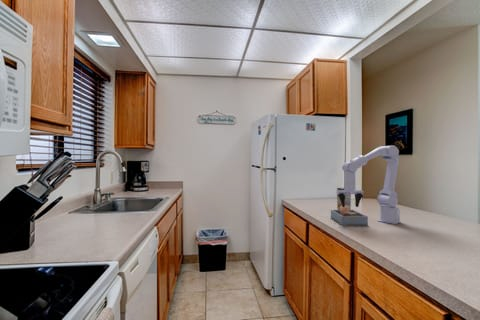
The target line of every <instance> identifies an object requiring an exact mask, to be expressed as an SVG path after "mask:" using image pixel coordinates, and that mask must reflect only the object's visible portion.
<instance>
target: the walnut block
mask: <svg viewBox="0 0 480 320" xmlns="http://www.w3.org/2000/svg"><path fill="white" fill-rule="evenodd" d="M344 216H357V213H354V212H350V211H349V212H344Z"/></svg>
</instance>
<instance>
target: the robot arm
mask: <svg viewBox="0 0 480 320" xmlns="http://www.w3.org/2000/svg"><path fill="white" fill-rule="evenodd" d="M399 154H400V150H399V149H398V146H396V145H384V146H383V145H380V146H378V147H376V148H374V149H373V150H372V151H370V152H368V153H367V154H365V155H362V154H361V155H360V154H359V155H357V156H356V157H355V158H352V159H349V160H350V161H346V162H344V163H343V165H342V166H341V169H342V170H343V174H344V175H343V176H344V178H343V180H344V184H343V185H344V188H345V190H338V191H337V190H336V195H337V194H338V196H339V198H340V200H341V204H342V207H345V195H344V194H351V195H354V199H355V201H354V202H355V203H354V205H355V207H356V208H359V207H360V206H359V204H360V202H361V199H362V198H363V195H364V190H362V189H361V190H359V189H356V172H357V171H358V169H360V168H361V167H363V166H365V165H367V164H368V162H369V161H371V160H372V159H374V158H376V157H380V158H382V159H383V160H385V162H387V165H386V171H385V176H384V183H383V188H382V189H381V190H380V191H379V194H378V195H377V198H376V201H377V203H379V207H380V210H379V211H380V212H379V213H380V214H379V215H380V216H379V217H380V219H378V220H377V222H381V223H388V224H393V225H398V223H400V222H401V214H400V213H401V210H400V207H397V205H398V203H399V199H398V193H397V192H396V191H395V188H396V181H397V176H398V169H399V164H400V157H399Z"/></svg>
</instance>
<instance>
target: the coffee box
mask: <svg viewBox="0 0 480 320" xmlns="http://www.w3.org/2000/svg"><path fill="white" fill-rule="evenodd" d="M338 190H345V187H337V188H336V192H337V191H338ZM336 195H337V197H336V199H337V201H336V203H337V204H336V205H337V207H336V210H340V206H342V204H341V200H340V198H339V196H338V194H337V193H336ZM344 195H345V206H349V210H352V204H351V203H352V200H351V198H352V196H351V195H352V194H344Z"/></svg>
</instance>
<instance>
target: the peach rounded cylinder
mask: <svg viewBox="0 0 480 320" xmlns="http://www.w3.org/2000/svg"><path fill="white" fill-rule="evenodd" d="M344 212H349V206H345V207H342V206H340V215H342V216H344Z"/></svg>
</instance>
